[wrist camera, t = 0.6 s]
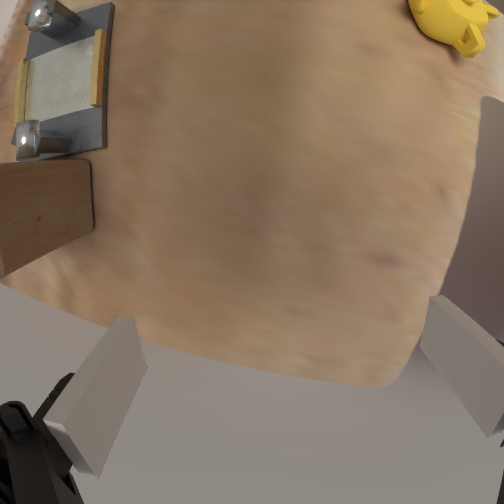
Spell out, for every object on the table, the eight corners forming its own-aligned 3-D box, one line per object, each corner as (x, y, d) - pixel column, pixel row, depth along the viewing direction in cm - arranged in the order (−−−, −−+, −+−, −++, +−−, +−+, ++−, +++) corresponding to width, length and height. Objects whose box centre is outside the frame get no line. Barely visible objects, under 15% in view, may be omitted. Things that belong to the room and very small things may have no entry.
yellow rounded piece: (416, -29, 26) (444, -56, 17) (477, 26, 29) (512, 10, 19) (382, 9, 30) (411, -21, 20) (452, 71, 32) (492, 57, 22)
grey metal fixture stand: (35, 34, 29) (0, 18, 20) (115, 5, 29) (86, -24, 20) (26, 165, 35) (-17, 169, 26) (107, 148, 35) (68, 146, 26)
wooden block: (97, 231, 38) (-1, 283, 19) (43, 233, 38) (-52, 278, 19) (92, 158, 36) (-16, 164, 16) (38, 166, 36) (-66, 181, 16)
